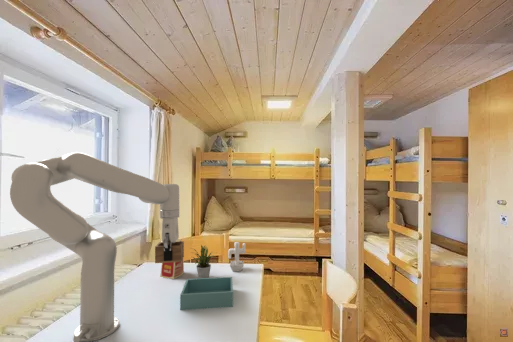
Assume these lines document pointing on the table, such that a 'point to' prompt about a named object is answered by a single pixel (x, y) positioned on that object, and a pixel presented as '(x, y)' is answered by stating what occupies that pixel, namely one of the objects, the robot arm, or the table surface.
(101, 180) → the robot arm
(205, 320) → the table surface
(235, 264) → the figurine
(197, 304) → the teal crate
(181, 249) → the walnut crate
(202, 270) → the house plant
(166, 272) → the milk carton
